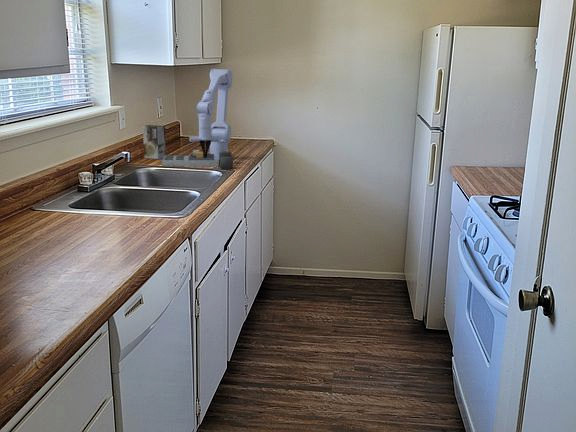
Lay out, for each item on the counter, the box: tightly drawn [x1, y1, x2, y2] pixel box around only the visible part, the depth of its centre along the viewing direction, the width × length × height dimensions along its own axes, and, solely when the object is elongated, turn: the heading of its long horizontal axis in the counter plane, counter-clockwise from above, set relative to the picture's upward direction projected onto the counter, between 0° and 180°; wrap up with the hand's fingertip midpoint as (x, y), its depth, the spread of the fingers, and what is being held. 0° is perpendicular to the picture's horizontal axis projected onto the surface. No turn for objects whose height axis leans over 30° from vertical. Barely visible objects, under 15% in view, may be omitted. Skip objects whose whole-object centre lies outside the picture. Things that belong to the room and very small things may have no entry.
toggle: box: [196, 151, 203, 158], centre depth 273 cm, size 3×4×3 cm
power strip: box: [161, 149, 220, 168], centre depth 276 cm, size 26×13×6 cm, turn 98°
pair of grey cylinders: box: [219, 151, 234, 170], centre depth 275 cm, size 6×21×5 cm, turn 8°
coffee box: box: [142, 124, 167, 160], centre depth 290 cm, size 9×6×16 cm
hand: (205, 156), depth 274 cm, fingers closed
